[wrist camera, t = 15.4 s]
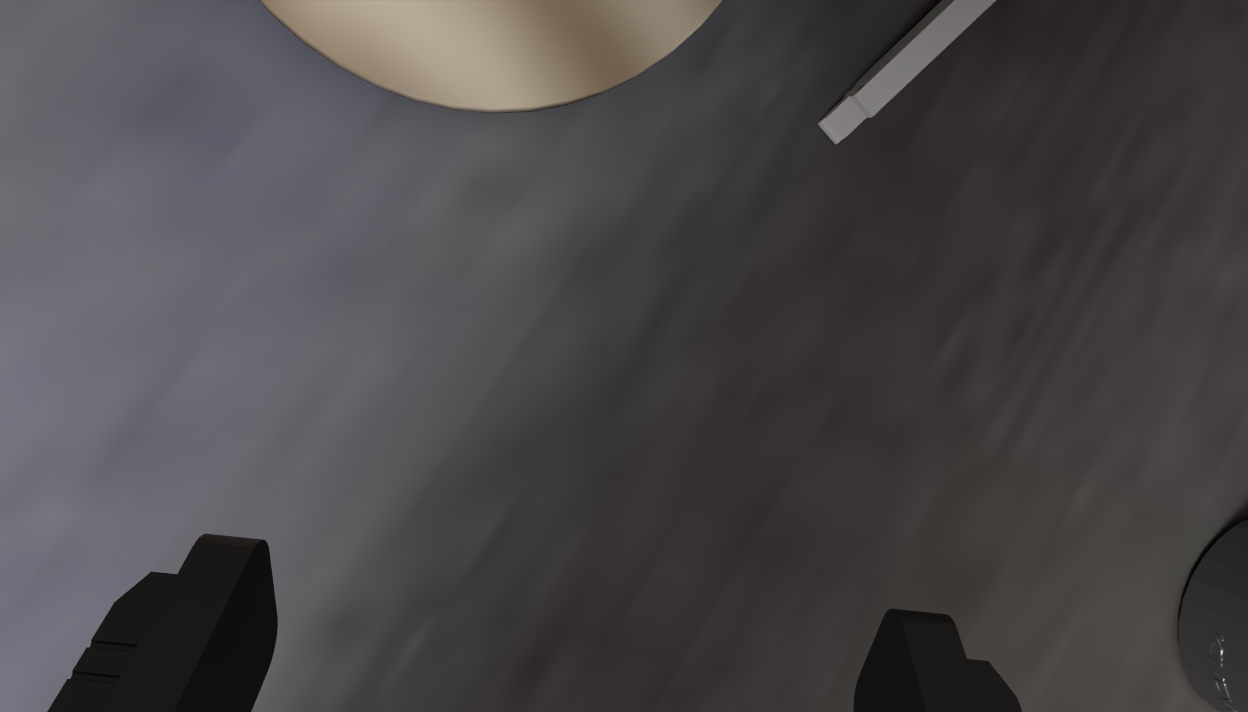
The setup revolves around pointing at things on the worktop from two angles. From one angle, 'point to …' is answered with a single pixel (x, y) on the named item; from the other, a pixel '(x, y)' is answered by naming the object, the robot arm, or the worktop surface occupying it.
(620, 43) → the disc
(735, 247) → the worktop surface
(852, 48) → the worktop surface
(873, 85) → the caliper
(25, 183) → the worktop surface
